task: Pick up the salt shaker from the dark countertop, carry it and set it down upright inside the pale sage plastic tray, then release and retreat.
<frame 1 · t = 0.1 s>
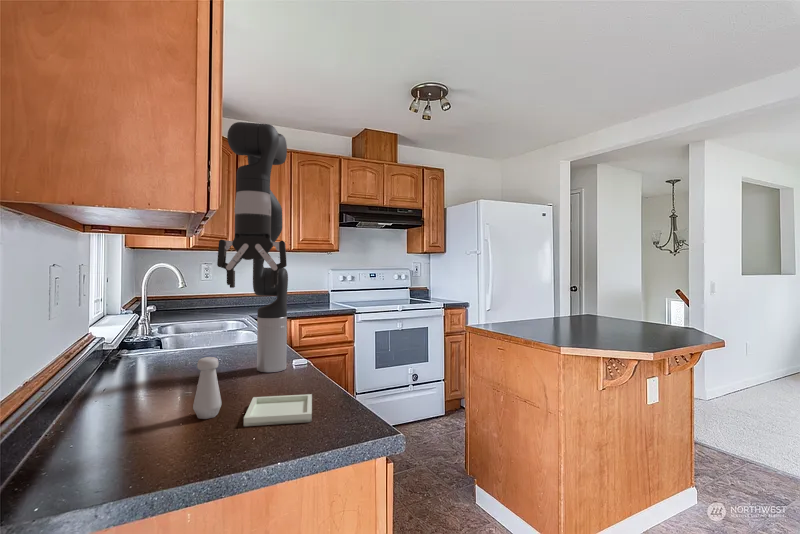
hand: (252, 287, 91), 29 cm above the counter, fingers open, 8 cm apart
tray: (280, 412, 95), on the counter
salt shaker: (207, 416, 93), on the counter
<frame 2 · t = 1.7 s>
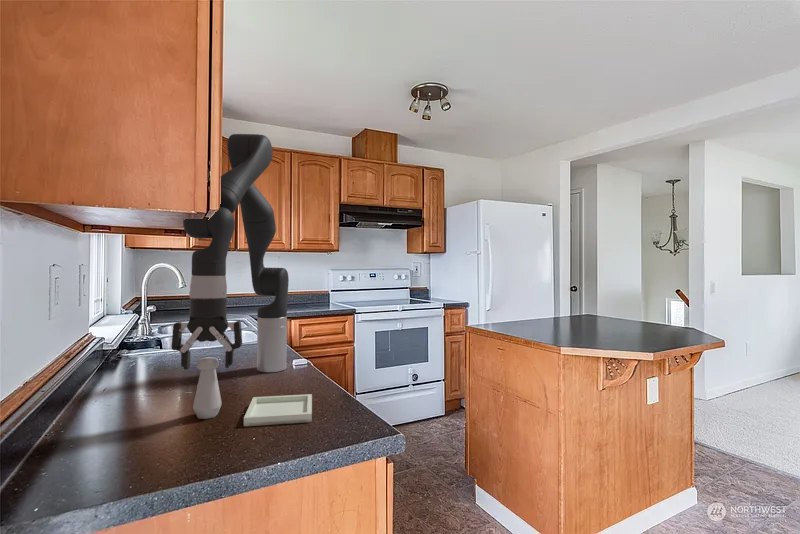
hand: (207, 368, 93), 11 cm above the counter, fingers open, 8 cm apart
nothing on the counter moved.
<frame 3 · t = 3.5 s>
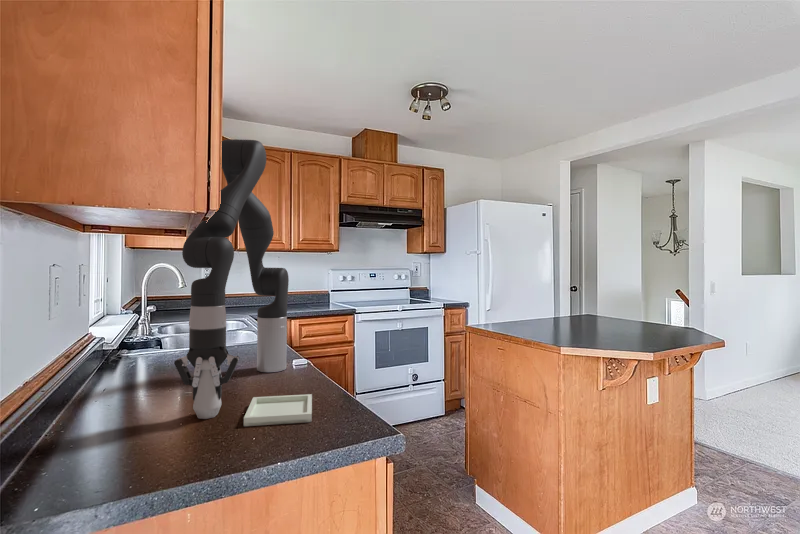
hand: (207, 401, 93), 3 cm above the counter, fingers closed on salt shaker, 3 cm apart
salt shaker: (207, 416, 93), on the counter, touching gripper
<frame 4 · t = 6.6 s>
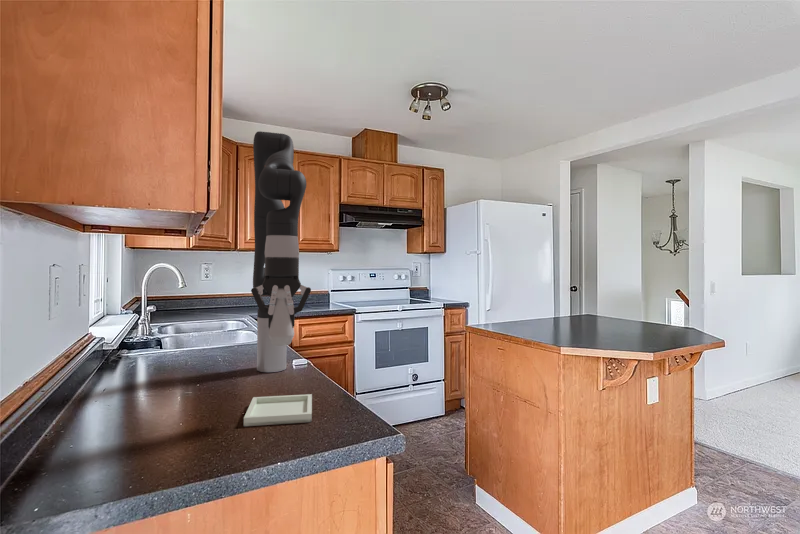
hand: (281, 330, 95), 19 cm above the counter, fingers closed on salt shaker, 3 cm apart
salt shaker: (281, 345, 95), point 16 cm above the counter, touching gripper
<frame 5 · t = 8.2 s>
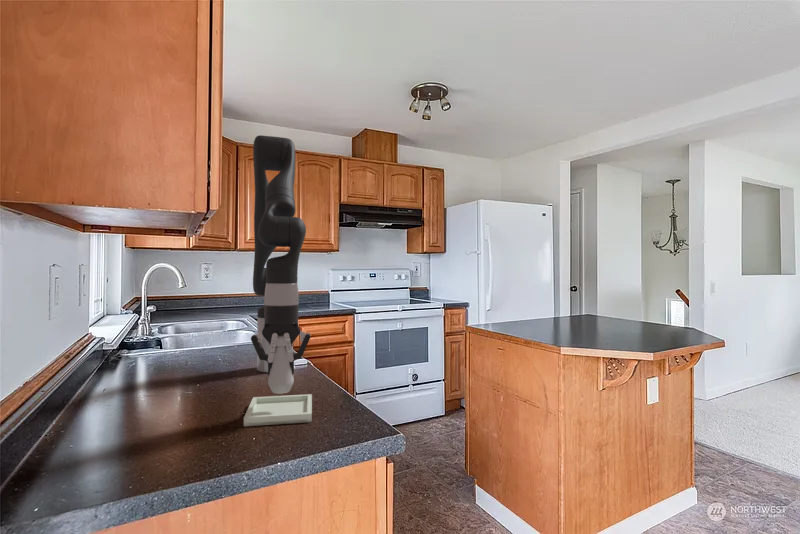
hand: (281, 377, 95), 8 cm above the counter, fingers closed on salt shaker, 3 cm apart
salt shaker: (280, 392, 95), point 5 cm above the counter, touching gripper
when the fingers open (5 cm above the counter, at t = 9.7 s): salt shaker stays where it is, resting on tray.
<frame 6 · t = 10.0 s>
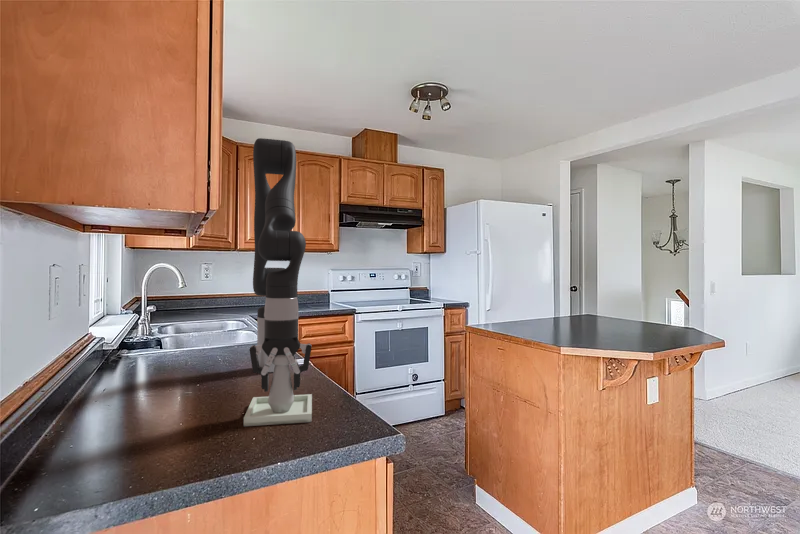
hand: (280, 389, 95), 5 cm above the counter, fingers open, 6 cm apart
salt shaker: (281, 410, 95), resting on tray
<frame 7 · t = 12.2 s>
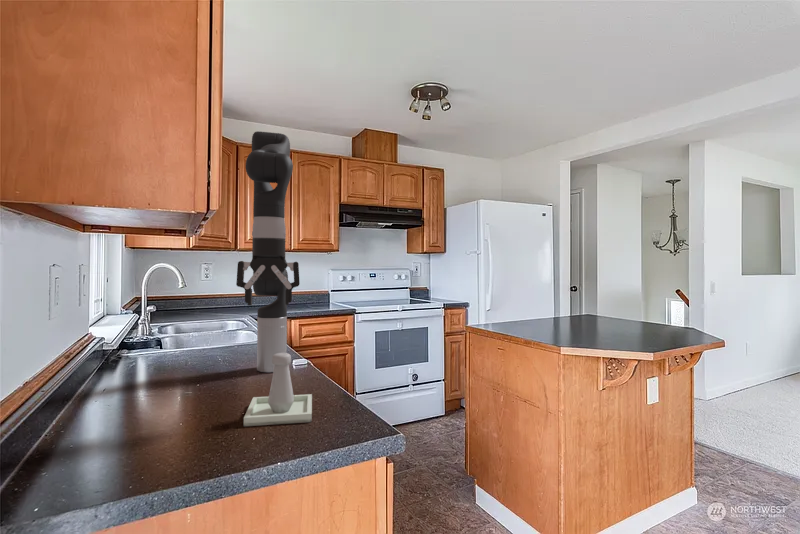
hand: (268, 304, 99), 25 cm above the counter, fingers open, 8 cm apart
nothing on the counter moved.
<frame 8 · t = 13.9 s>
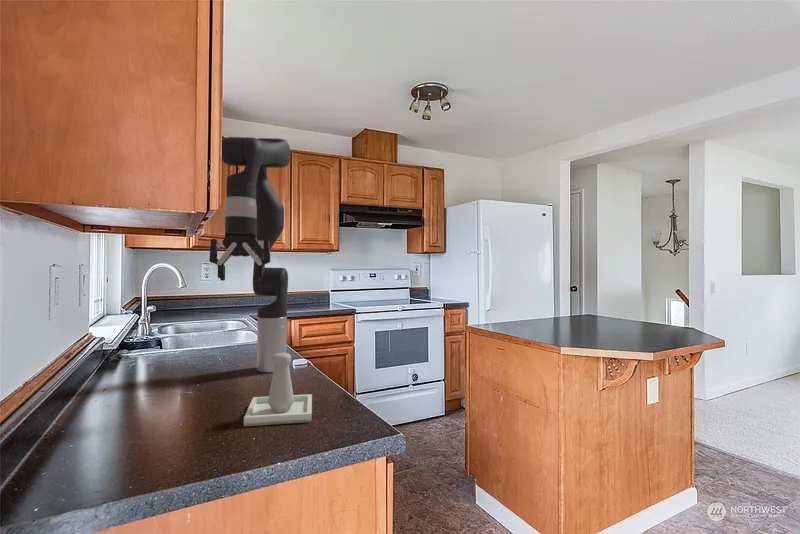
hand: (240, 280, 105), 30 cm above the counter, fingers open, 8 cm apart
nothing on the counter moved.
at the end: salt shaker inside the target area on the tray (0.1 cm from its centre), point 0.4 cm above the tray's base; salt shaker tilted 0°; the gripper is holding nothing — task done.
